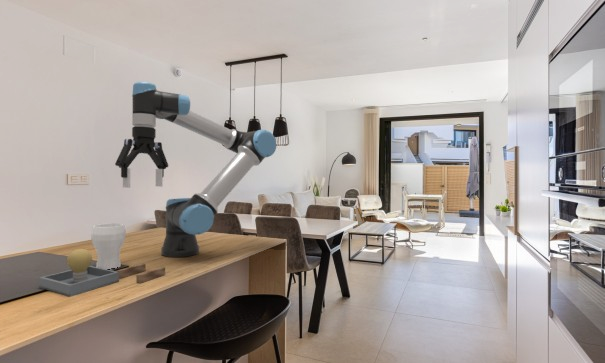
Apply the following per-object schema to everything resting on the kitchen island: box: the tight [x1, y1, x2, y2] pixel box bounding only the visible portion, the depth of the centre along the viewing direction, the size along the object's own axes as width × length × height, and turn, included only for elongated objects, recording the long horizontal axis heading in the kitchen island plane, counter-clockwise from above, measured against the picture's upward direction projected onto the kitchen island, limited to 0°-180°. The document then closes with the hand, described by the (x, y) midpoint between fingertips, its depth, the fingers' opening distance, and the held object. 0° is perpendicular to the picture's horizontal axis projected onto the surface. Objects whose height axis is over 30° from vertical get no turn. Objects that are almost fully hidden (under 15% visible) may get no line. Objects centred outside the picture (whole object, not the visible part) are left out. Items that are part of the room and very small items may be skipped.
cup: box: [90, 222, 127, 270], centre depth 121 cm, size 11×11×15 cm
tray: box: [38, 265, 120, 297], centre depth 103 cm, size 15×15×3 cm
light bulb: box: [66, 248, 93, 283], centre depth 102 cm, size 6×6×10 cm
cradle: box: [116, 262, 166, 284], centre depth 111 cm, size 10×10×2 cm
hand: (143, 187), depth 122 cm, fingers open, 13 cm apart
